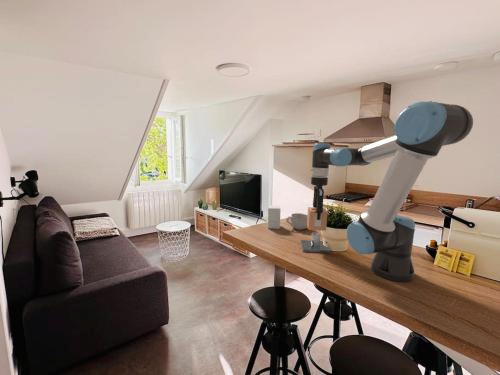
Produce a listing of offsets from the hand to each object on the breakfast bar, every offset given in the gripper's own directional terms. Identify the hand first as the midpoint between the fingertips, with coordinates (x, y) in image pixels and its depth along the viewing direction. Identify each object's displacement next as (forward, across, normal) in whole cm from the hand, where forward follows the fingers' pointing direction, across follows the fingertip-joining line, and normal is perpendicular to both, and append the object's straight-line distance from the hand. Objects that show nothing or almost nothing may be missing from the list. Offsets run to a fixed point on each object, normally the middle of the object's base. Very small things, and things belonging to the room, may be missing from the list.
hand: (316, 223), depth 124 cm
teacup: (+13, -29, -7) cm, 32 cm away
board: (+12, 0, 0) cm, 12 cm away
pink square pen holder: (+2, 0, 0) cm, 2 cm away
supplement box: (+13, -29, -21) cm, 38 cm away
